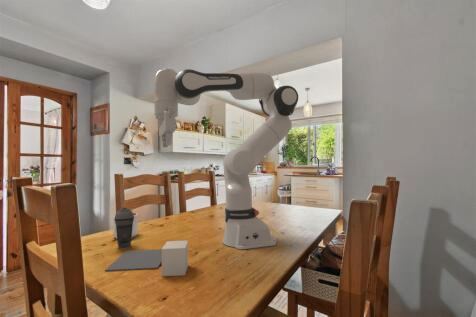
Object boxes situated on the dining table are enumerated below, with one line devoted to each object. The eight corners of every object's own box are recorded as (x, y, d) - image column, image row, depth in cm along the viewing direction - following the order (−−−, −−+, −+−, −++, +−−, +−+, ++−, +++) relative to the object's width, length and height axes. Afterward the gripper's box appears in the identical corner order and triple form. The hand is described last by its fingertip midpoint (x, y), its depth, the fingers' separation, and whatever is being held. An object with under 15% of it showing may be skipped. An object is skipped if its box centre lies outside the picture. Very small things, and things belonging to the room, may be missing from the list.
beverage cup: (126, 250, 88) (126, 198, 89) (110, 249, 90) (110, 198, 90) (138, 244, 95) (137, 196, 96) (122, 243, 97) (122, 196, 97)
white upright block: (188, 265, 74) (188, 240, 74) (185, 275, 67) (184, 248, 68) (167, 266, 74) (166, 241, 74) (161, 276, 67) (161, 249, 67)
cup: (113, 241, 99) (113, 218, 99) (113, 235, 108) (113, 214, 108) (138, 237, 104) (138, 215, 104) (136, 232, 113) (136, 212, 113)
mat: (168, 249, 88) (168, 248, 88) (157, 268, 72) (157, 267, 72) (126, 251, 87) (126, 250, 87) (105, 271, 71) (105, 270, 71)
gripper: (179, 105, 81) (180, 144, 81) (170, 116, 100) (171, 148, 99) (161, 103, 79) (161, 143, 78) (155, 115, 97) (155, 148, 97)
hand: (166, 146), depth 89 cm, fingers open, 8 cm apart
